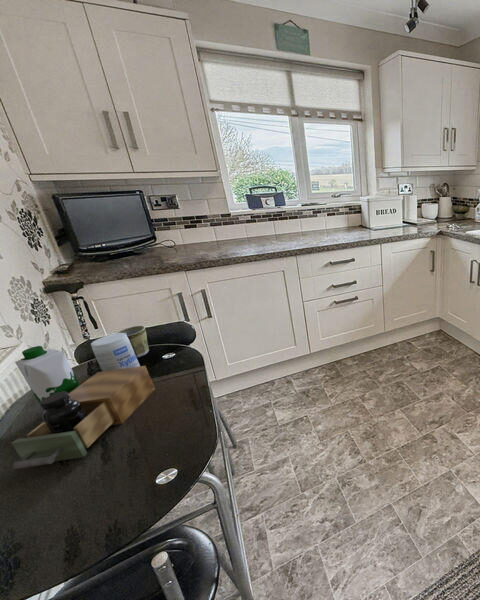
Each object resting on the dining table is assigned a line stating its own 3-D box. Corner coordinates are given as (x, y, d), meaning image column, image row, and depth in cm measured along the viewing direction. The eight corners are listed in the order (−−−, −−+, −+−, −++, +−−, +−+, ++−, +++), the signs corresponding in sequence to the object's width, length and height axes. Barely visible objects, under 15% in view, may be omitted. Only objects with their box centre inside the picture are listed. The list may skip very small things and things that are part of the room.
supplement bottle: (78, 425, 87) (57, 388, 82) (100, 426, 86) (80, 388, 82) (50, 446, 80) (25, 406, 76) (74, 446, 79) (50, 406, 75)
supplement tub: (133, 381, 109) (115, 343, 104) (101, 387, 108) (81, 348, 102) (147, 366, 118) (132, 330, 113) (118, 371, 117) (101, 335, 111)
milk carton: (77, 396, 104) (47, 341, 97) (94, 401, 101) (64, 344, 93) (41, 415, 96) (6, 356, 89) (58, 420, 93) (23, 360, 86)
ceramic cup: (158, 350, 130) (149, 328, 126) (128, 363, 122) (118, 339, 118) (144, 344, 136) (135, 322, 133) (115, 355, 129) (105, 333, 125)
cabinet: (122, 423, 89) (109, 397, 86) (68, 431, 88) (52, 405, 85) (155, 389, 104) (145, 365, 101) (109, 395, 103) (97, 371, 100)
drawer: (68, 472, 74) (54, 448, 71) (8, 481, 72) (-9, 458, 70) (124, 415, 91) (114, 395, 89) (76, 422, 90) (64, 402, 88)
